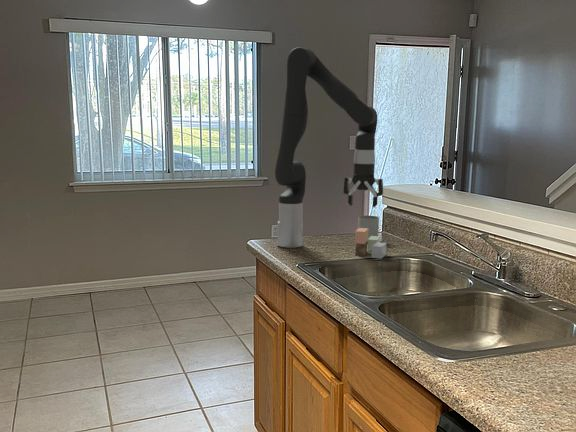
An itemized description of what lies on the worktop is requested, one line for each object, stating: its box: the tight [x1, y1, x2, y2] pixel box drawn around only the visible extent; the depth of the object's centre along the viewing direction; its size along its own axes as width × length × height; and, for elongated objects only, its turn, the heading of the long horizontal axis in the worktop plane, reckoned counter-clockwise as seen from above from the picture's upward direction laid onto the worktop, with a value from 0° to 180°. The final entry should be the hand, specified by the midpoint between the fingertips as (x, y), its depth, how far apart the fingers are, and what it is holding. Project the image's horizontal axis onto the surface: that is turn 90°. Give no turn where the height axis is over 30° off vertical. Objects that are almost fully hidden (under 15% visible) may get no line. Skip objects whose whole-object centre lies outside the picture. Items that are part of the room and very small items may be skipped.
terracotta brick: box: [354, 228, 369, 244], centre depth 207 cm, size 4×7×4 cm, turn 160°
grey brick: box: [371, 241, 387, 260], centre depth 204 cm, size 4×7×4 cm, turn 156°
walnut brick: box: [355, 242, 368, 257], centre depth 208 cm, size 4×7×4 cm, turn 166°
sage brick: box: [367, 235, 381, 252], centre depth 215 cm, size 4×7×4 cm, turn 163°
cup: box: [357, 215, 380, 244], centre depth 230 cm, size 8×8×10 cm
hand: (362, 206), depth 206 cm, fingers open, 8 cm apart
